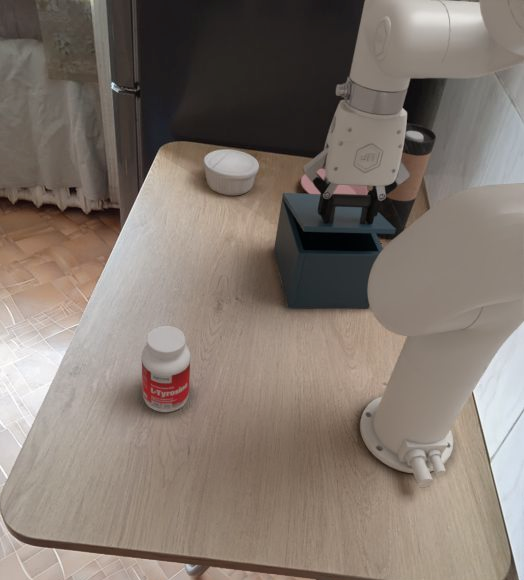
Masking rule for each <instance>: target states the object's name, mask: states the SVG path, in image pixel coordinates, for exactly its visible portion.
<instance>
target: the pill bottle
mask: <svg viewBox="0 0 524 580" xmlns="http://www.w3.org/2000/svg"><path fill="white" fill-rule="evenodd" d="M191 362H192V361H191V351H190V349H189V347H188V346H187V344H186V336H185V334H184V332H183V331H182V330H181V329H179V328H177V327H175V326H172V325H161V326H157V327H154V328H153V329H151V330H150V331H149V332H148V334H147V336H146V345H144V347H143V349H142V352H141V380H142V381H141V383H142V398H143V401H144V403H145V404H146V405H147V407H149V408H150V409H152V410H153V411H157V412H160V413H171V412H175V411H177V410H179V409H182V408H183V407H184V406H185V405H186V404H187V402H188V399H189V395H190V381H191V379H190V378H191Z"/></svg>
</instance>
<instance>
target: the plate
mask: <svg viewBox="0 0 524 580" xmlns="http://www.w3.org/2000/svg"><path fill="white" fill-rule="evenodd" d="M317 174H318V175H319V176H320V177H321V178H322V179H323V178H324V177H325V175H326V174H325V169H323V168H320V169H319V170H318V171H317ZM300 185H301V187H302V188H303V190H304V191H305V192H306V194H321V193H320V192H319V191H318V189H317V188H316V187H315V186H314V184H313V183H312V182H311V181H310V179H309V178H308V177H307V176H306V175H305V173H304V174H303V175H302V176H301V178H300ZM368 192H369V190H368V186H356V185H338V186H337V188H336V189H335V191H334V193H333V194H355V195H367V194H368Z"/></svg>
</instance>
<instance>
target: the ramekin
mask: <svg viewBox="0 0 524 580" xmlns="http://www.w3.org/2000/svg"><path fill="white" fill-rule="evenodd" d="M203 167H204V170H205V171H204V172H205V178H206V183H207V185H208V187H209V188H210V189H211V190H212V191H214V192H216V193H217V194H221V195H224V196H240V195H245V194H246V193H248V192H249V191H250V190H251V189H252V188H253V186H254V182H255V179H256V177H257V173H258V172H259V169H260V166H259V162H258V160H257V159H256V158H255V157H254V156H253V155H251V154H249V153H247V152H245V151H240V150H237V149H217V150H214V151H213V150H212V151H211V152H209V153H207V154H206V155H205V156H204V158H203Z"/></svg>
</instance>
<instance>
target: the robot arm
mask: <svg viewBox="0 0 524 580" xmlns="http://www.w3.org/2000/svg"><path fill="white" fill-rule="evenodd" d="M353 51H354V53H353V57H352V60H351V61H352V62H351V67H350V72H349V76H347V78H346V81H345V83H342V84H338V83H337V84H336V86H335V96H338V97H341V98H343V99H341V100H339V103H338V104H337V107H336V110H335V112H334V115H333V117H332V120H331V123H330V126H329V128H328V132H327V136H326V140H325V143H324V147H323V150H322V151H321V152H320V153H318V154H317V155H316V156H315V157H313V158H312V159H310V161H308V162H307V163H306V164H305V165H304V166H303V168H302V170H303V172H304V174H305V175H306V176H307V177H308V178H309V179H310V181H311V182H312V183H313V184H314V186H315V187H316V188H317V189H318V191H319V192H320V193H321V195H320V200H319V205H318V214H319V215H321V217H322V220H323V222H324V223H329V221H330V216H331V211H332V207H333V202H334V200H333V197H332V194H333V193H334V191H335V189H336V188H337V186H338V185H356V186H366V187H372V189H370V190H368V193H367V195H370V196H371V206H370V207H369V208H368V211H367V216H366V222H367V223H368V224H373V220H374V217H375V216H377V214H378V210H379V207H380V203H381V200H384V199H385V198H386V195H387V194H388V193H390V192H391V191H393V190H394V189H395V188H396V187H397V185H398V184H401V183H402V182H403V181H405V180H406V179H408V178H409V176H410V174H409V172H408V171H407V169H406V168H405V166H404V165H403V163H402V162H401V156H402V151H403V146H404V139H405V133H406V124H408V123H407V120H408V111H407V110H405V108H403V107H404V103H405V99H406V96H407V93H408V89H409V85H410V82H411V79H474V78H475V79H476V78H481V77H485V76H488V75H492V74H495V73H498V72H501V71H505V70H508V69H511V68H515V67H517V66H520V65H522V64H524V0H479V1H478V2H477V1H466V0H364V3H363V8H362V13H361V17H360V23H359V28H358V32H357V38H356V42H355V47H354V50H353ZM319 169H325V174H326V175H325V177H324V178H323V179H322V178H321V177H320V176H319V175H318V174H317V171H318V170H319ZM367 292H368V301H369V305H370V306H369V309H370V310H371V312H372V314H373V317H374V318H375V319H376V321H377V322H378V323H379V324H380V325H381V326H382V327H383V328H385V330H387V331H389V332H390V333H393V334H395V335H398V336H403V337H406V338H405V341H404V343H403V345H402V348H401V350H400V351H399V355H398V357H397V360H396V362H395V365H394V367H393V370H392V372H391V374H390V377H389V379H388V381H387V384H386V386H385V389H384V392H383V393H382V396H379V397H376V398H373V400H372V401H370V402H369V403H368V404H367V405H366V407H365V408H364V410H363V412H362V414H361V418H360V420H359V431H360V436H361V438H362V440H363V443H364V444H365V446H366V447H367V450H369V451H370V453H371V454H372V455H373V456H374V457H375V458H376V459H378V460H379V461H380V462H381V463H383V464H384V465H386V466H388V467H390V468H392V469H394V470H397V471H399V472H403V473H408V474H413V476H414V478H415V479H414V480H415V481H416V484H417V486H418V487H419V488H427V487H429V486H431V485H432V484H433V483H434V480H433V479H434V478H433V477H432V475H431V472H434V476H436V477H438V478H439V477H443V476H445V475H446V474H447V469H446V467H445V465H444V464H446V462H447V461H448V459H449V458H450V456H451V454H452V452H453V450H454V444H455V443H454V437H453V436H454V435H453V432H452V428H453V426H454V425H455V423H456V421H457V420H458V418H459V416H460V415H461V412H462V411H463V409H464V408H465V406H466V404H467V403H468V401H469V399H470V397H471V395H472V394H473V392H474V391H475V389H476V388H477V386H478V384H479V382H480V380H481V378H483V376H484V374H485V372H486V371H487V369H488V367H489V366H490V364H491V363H492V361H493V359H494V358H495V356H496V355H497V353H498V352H499V350H500V349H501V348H502V346H503V345H504V344H505V342H506V341H508V339H509V338H510V337H511V336H512V335H513V334H514V332H515V331H516V330H517V329H518V328H519V327H520V326H521V325H522V324H523V323H524V182H518V183H517V182H515V183H504V184H502V183H501V184H486V185H479V186H474V187H470V188H466V189H461V190H459V191H457V192H455V193H453V194H450V195H448V196H446V197H445V198H442V199H441V200H439V201H438V202H437V203H435V204H434V205H432V206H431V207H430V208H429V209H428V210H427V211H425V212H424V213H423V214H422V215H420V216H419V217H418V218H417V219H415V220H414V221H413V222H412V223H411V224H410V225H409V226H407V227H406V228H404V230H403V232H401V233H400V234H399V235H398V236H397V237H395V238H394V239H391V241H390V242H388V243H386V245H385V246H384V247H383V250H382V251H381V252H380V254H379V255H378V257H377V258H376V260H375V262H374V264H373V266H372V269H371V272H370V275H369V280H368V289H367Z"/></svg>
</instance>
